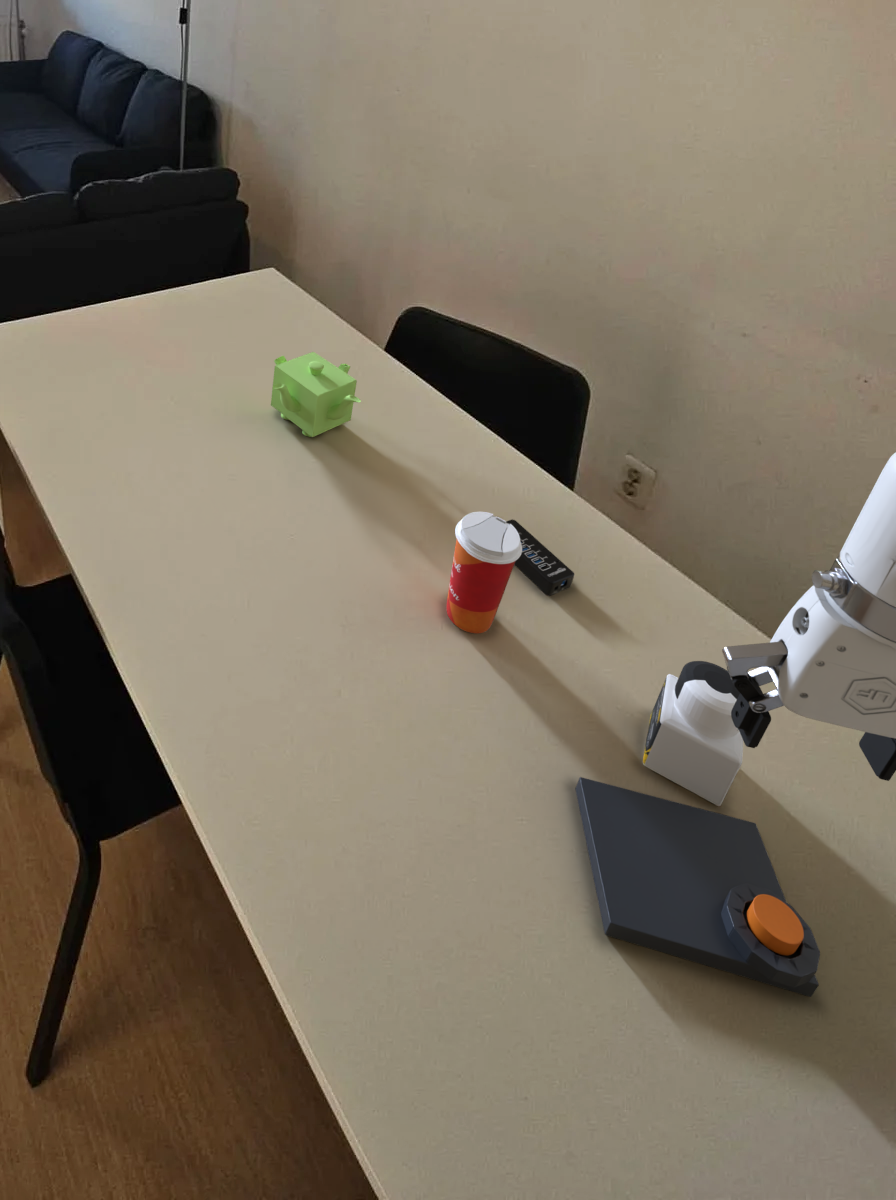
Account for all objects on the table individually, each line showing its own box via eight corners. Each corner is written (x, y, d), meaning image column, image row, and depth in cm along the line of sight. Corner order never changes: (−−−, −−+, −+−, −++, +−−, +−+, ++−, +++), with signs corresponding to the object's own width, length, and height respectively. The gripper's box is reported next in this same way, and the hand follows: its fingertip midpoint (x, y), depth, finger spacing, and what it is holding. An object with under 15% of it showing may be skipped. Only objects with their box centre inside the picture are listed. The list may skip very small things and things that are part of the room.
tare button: (785, 912, 69) (792, 901, 68) (804, 962, 65) (812, 950, 65) (739, 899, 69) (746, 888, 69) (756, 947, 66) (763, 936, 66)
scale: (752, 835, 77) (764, 813, 76) (818, 1009, 65) (834, 987, 64) (575, 788, 81) (583, 766, 79) (606, 945, 69) (617, 922, 67)
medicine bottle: (649, 715, 89) (681, 639, 84) (724, 753, 85) (761, 676, 80) (641, 766, 83) (674, 688, 78) (720, 809, 80) (759, 730, 75)
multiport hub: (510, 530, 114) (513, 518, 113) (572, 586, 105) (576, 574, 104) (487, 538, 113) (490, 526, 112) (547, 596, 103) (551, 583, 103)
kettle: (353, 452, 129) (362, 395, 125) (267, 441, 131) (272, 385, 127) (348, 399, 143) (356, 346, 138) (270, 390, 145) (276, 338, 140)
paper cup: (455, 581, 105) (475, 499, 100) (511, 616, 100) (535, 532, 95) (425, 614, 100) (445, 530, 95) (483, 653, 95) (506, 566, 90)
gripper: (785, 612, 58) (710, 762, 65) (1066, 671, 54) (954, 823, 61) (744, 538, 64) (679, 682, 71) (991, 587, 61) (898, 732, 68)
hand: (806, 747), depth 66 cm, fingers open, 9 cm apart
